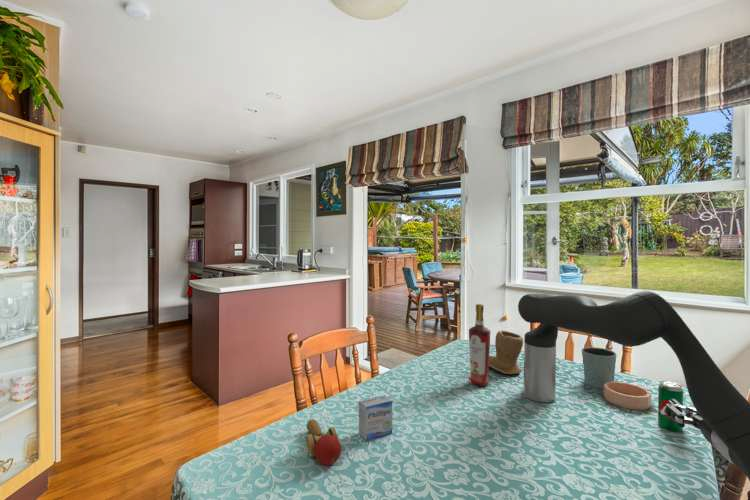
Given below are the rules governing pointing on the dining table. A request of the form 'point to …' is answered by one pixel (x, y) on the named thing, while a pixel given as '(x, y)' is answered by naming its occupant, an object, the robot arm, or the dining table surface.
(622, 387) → the bowl
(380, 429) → the medicine box
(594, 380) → the grey-green tumbler
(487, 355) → the liquor
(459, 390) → the dining table surface
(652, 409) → the mat
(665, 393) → the soda can
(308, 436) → the kendama
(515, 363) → the tan boot
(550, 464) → the dining table surface
